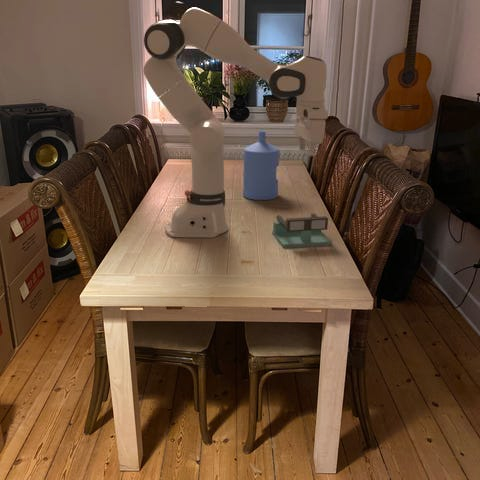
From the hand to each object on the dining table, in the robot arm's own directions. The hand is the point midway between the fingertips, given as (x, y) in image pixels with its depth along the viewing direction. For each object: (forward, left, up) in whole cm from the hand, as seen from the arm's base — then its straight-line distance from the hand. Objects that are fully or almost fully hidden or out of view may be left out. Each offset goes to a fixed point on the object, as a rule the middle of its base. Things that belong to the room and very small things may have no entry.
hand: (306, 152), depth 168 cm
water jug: (-2, +51, -30) cm, 59 cm away
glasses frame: (-1, -2, -24) cm, 24 cm away
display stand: (-1, -4, -29) cm, 30 cm away
